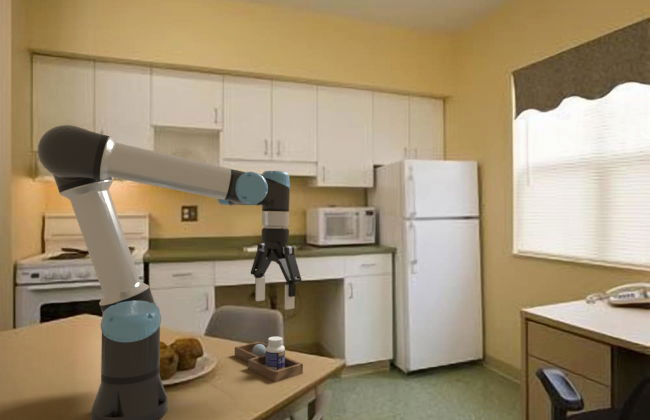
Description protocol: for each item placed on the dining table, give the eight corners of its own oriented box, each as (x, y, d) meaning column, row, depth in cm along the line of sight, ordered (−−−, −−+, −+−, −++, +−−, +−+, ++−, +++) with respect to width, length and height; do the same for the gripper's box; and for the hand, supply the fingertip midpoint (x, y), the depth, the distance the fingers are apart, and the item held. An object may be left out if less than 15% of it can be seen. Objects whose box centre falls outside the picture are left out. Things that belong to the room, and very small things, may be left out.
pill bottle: (281, 375, 117) (281, 341, 117) (262, 373, 118) (263, 340, 118) (287, 368, 122) (287, 336, 122) (269, 366, 123) (269, 335, 123)
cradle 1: (258, 368, 123) (258, 357, 123) (234, 357, 132) (234, 347, 132) (284, 361, 129) (284, 351, 129) (259, 350, 138) (259, 341, 138)
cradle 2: (275, 383, 112) (275, 372, 112) (247, 370, 121) (248, 359, 121) (302, 375, 118) (302, 364, 118) (274, 362, 127) (274, 352, 127)
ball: (257, 360, 128) (257, 347, 128) (249, 357, 131) (250, 343, 131) (268, 357, 130) (268, 344, 130) (261, 354, 133) (261, 341, 133)
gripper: (315, 228, 113) (314, 310, 113) (261, 225, 132) (259, 296, 131) (292, 229, 108) (291, 314, 108) (239, 226, 126) (238, 299, 126)
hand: (274, 304), depth 120 cm, fingers open, 13 cm apart
